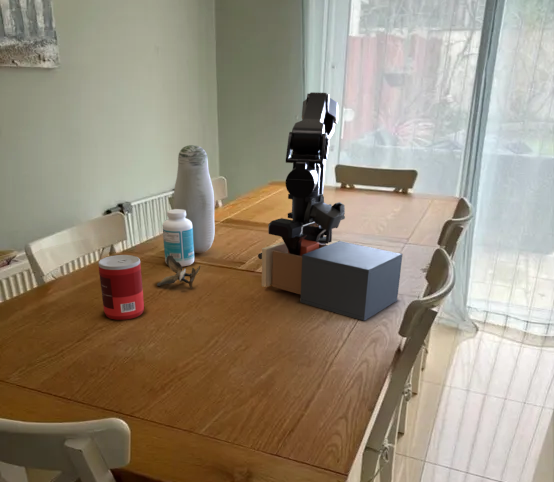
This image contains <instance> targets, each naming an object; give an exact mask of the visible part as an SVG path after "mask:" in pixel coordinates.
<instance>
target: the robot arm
mask: <svg viewBox="0 0 554 482" xmlns="http://www.w3.org/2000/svg"><path fill="white" fill-rule="evenodd" d="M301 106H302V107H301V120H300V121H297V122H295V123H294V124H293V127H292V128H291V129H292V130H291V131H289V132H288V133H289V134H288V139H287V145H286V153H285V163H286V164H292V169H291V171H289V173H288V174H287V176H286V178H285V182H284V183H285V188H286V191H287V192H288V194H287V199H288V200H291V212H288V213H287V218H283V217H280V218H277V219H274V220H271V221H270V222H269V223H268V226H267V227H268V229H267V232H268V235H271V236H277V237H281V239H282V242H283V241H284V243H285V245H286V247H287V249H288V251H289V253H290V254H294V255H298V256H300V250H301V242H302V240H303V239H305V240H310V241H314V242H319V243H321V244H325V245H329V243H332V242H333V241H332V239H333V230H334V229H338V228H339V226H340V224H341V221H343V220H345V219H346V217H345V213H346V209H345V204H343V203H342V202H341V201H339V202H335V203H334V204H332V203H329V204H328V203H326V202H325V196H324V189H325V175H326V163H327V162H326V161H327V160H328V155H329V149H330V148H329V147H330V139H331V138H332V136H333V135H334V133H335V126H336V125H337V124H338V122H339V104H338V102H337V101H336V100H334V99H333V98H331V97H330V94H329V93H327V92H314V91H313V92H309V93H307V94H306V98H305V99H304V100H303V101H302V105H301Z"/></svg>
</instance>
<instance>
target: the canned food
mask: <svg viewBox="0 0 554 482" xmlns="http://www.w3.org/2000/svg"><path fill="white" fill-rule="evenodd" d="M98 274H99V283H100V290H101V298H102V306H103V312H104V314H105V316H106V317H107V318H109V319H111V320H116V321H125V320H132V319H135V318H138V317H139V316H141V315H142V314H143V313H144V310H145V301H144V289H143V287H144V286H143V278H142V277H143V276H142V275H143V274H142V265H141V259H140V257H138V256H135V255H132V254H131V255H130V254H115V255H110V256H105V257H103V258H101V259H100V260H98Z"/></svg>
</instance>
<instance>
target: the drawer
mask: <svg viewBox="0 0 554 482" xmlns="http://www.w3.org/2000/svg"><path fill="white" fill-rule="evenodd" d="M327 245H328V244H326V245H325V244H321V243H319V248H322V247H324V246H327ZM257 258H258V259H259V260H261V287H264V288H268V287H270V286H271V287H273V288H275V289H279V290H282V291H286V292H290V293H293V294H297V295H301V274H302V256H298V255H294V254H290V253H288V249H287V247H286V245H285V243H284V241H283V240H282V241H280V242H278V243H274V244H271V245H268V246H265V247H262V248H261V252H259V253H258V254H257Z"/></svg>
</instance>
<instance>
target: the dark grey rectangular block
mask: <svg viewBox="0 0 554 482" xmlns="http://www.w3.org/2000/svg"><path fill="white" fill-rule="evenodd" d="M326 245H327V246H324V247H322V248H319V249H316V250H314V251H311V252H308V253H306V254H303V255H302V274H301V294H300V300H299V301H300V303H301V304H305V305H308V306H311V307H315V308H318V309H321V310H325V311H329V312H333V313H336V314H340V315H342V316H346V317H350V318H353V319H356V320H360V321H363V322H365V321H367V320H368V319H369V318H371V317H373V316H375V315H376V314H378V313H379V312H381V311H383V310H384V309H387V307H390V306H391V305H392V304H394V303H396V302H397V301H398V298H399V297H398V295H399V287H400V280H401V279H400V278H401V271H402V262H403V253H402V252H401V253H400V252H396V251H391V250H386V249H381V248H376V247H372V246H367V245H363V244H357V243H352V242H349V241H348V242H347V241H342V240H338V241H336V242H335V241H334V242H333V243H332V242H331V243H330V244H326Z"/></svg>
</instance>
